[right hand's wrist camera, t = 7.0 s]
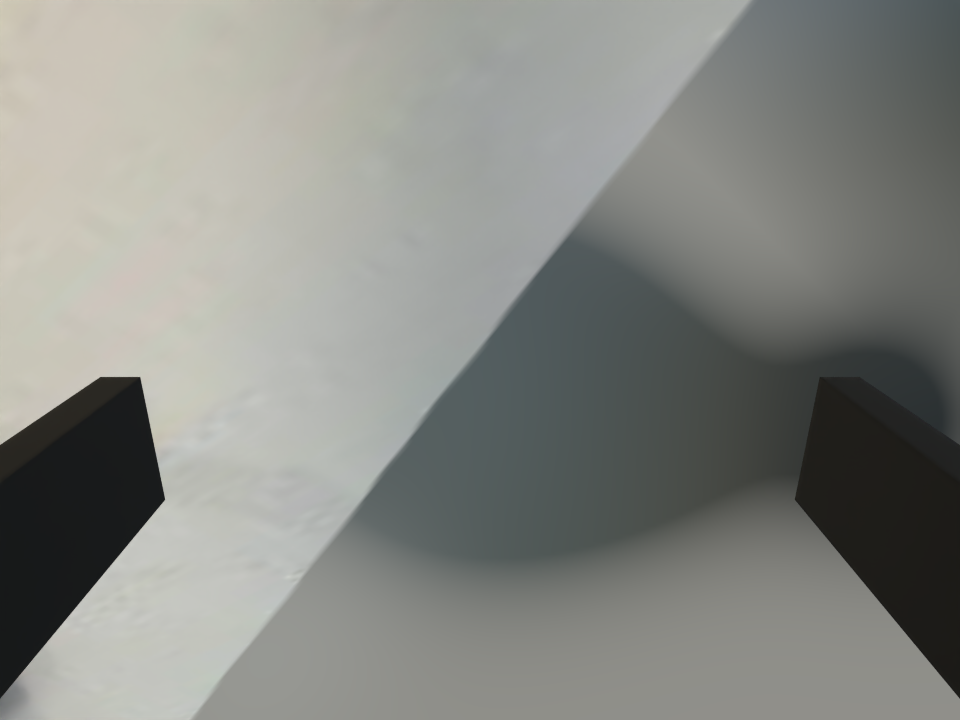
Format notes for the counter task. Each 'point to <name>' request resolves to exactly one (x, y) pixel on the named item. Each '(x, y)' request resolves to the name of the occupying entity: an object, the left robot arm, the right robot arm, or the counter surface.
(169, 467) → the counter surface
